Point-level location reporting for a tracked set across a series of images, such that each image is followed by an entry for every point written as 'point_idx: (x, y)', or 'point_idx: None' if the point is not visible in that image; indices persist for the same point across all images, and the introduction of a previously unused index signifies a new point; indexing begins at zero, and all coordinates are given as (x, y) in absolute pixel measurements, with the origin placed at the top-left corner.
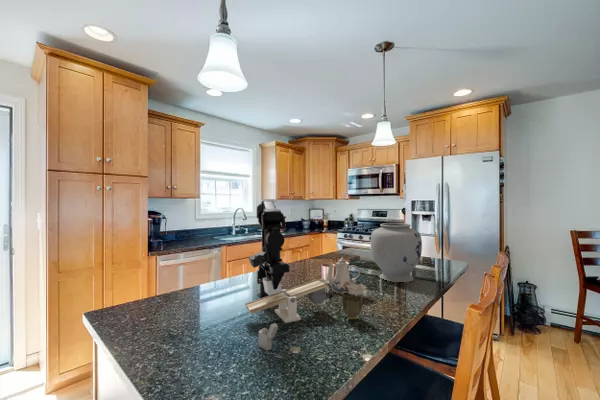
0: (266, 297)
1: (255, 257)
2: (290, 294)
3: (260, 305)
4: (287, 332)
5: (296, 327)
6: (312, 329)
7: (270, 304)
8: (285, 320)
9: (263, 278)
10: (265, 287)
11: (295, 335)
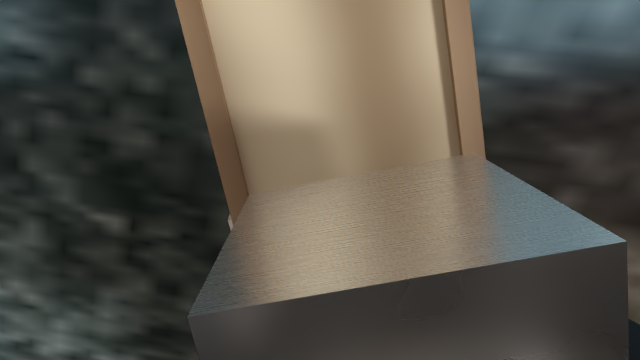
0: (458, 142)
1: None
2: None
3: (256, 33)
4: (60, 198)
5: (139, 265)
6: (99, 343)
7: (221, 160)
8: (229, 219)
9: (585, 269)
10: (401, 197)
11: (10, 239)
